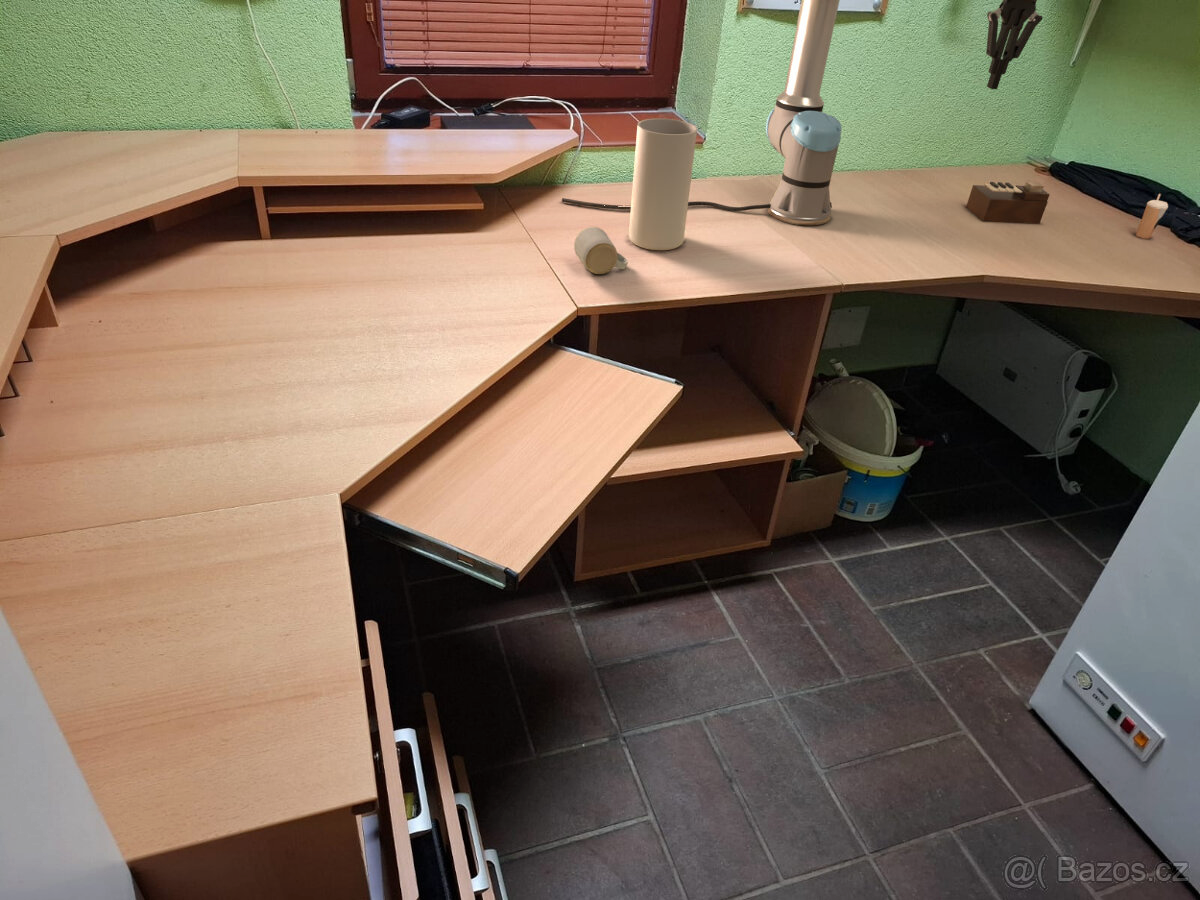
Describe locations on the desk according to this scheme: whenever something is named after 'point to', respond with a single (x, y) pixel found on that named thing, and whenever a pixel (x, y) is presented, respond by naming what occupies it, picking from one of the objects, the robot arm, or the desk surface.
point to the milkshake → (1151, 217)
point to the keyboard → (1002, 187)
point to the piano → (1007, 205)
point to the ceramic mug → (597, 251)
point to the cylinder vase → (661, 183)
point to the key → (1033, 187)
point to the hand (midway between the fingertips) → (991, 87)
